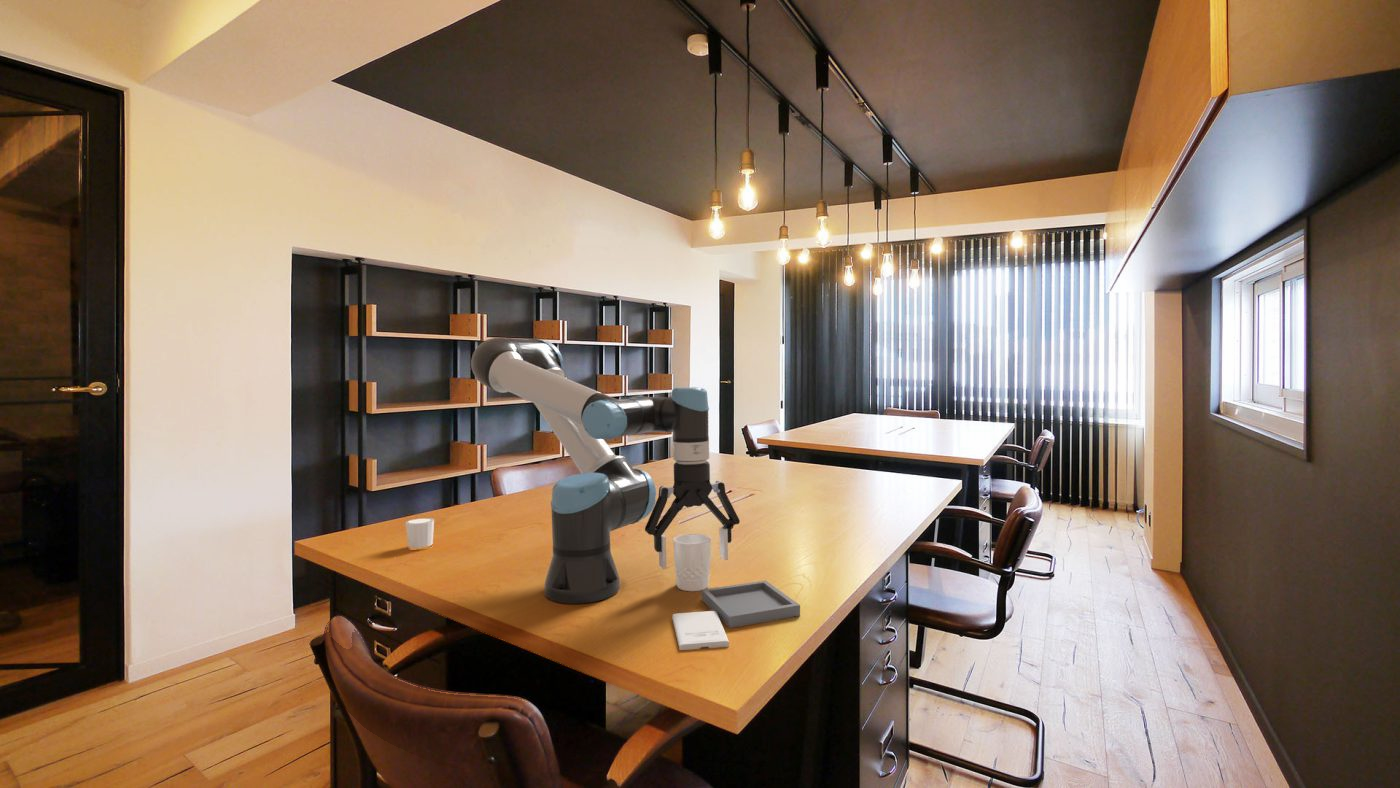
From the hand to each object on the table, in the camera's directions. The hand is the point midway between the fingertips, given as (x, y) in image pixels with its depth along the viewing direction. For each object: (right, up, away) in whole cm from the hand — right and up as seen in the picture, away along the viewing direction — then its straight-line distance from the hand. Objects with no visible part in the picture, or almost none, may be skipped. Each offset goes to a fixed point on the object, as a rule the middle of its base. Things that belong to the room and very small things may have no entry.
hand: (694, 562), depth 126 cm
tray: (+11, -5, -12) cm, 17 cm away
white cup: (0, -5, 0) cm, 5 cm away
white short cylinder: (-71, -5, +30) cm, 78 cm away
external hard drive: (+1, -7, -22) cm, 23 cm away
